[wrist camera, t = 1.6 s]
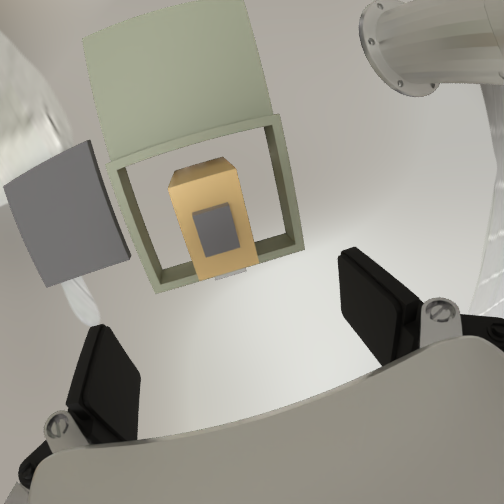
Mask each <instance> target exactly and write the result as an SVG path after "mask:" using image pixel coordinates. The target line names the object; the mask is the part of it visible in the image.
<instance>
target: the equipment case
mask: <svg viewBox="0 0 504 504" xmlns="http://www.w3.org/2000/svg"><path fill="white" fill-rule="evenodd" d="M82 40H83V47H84V53H85V58H86V64H87V69H88V74H89V78H90V83H91V88H92V93H93V97H94V101H95V105H96V110H97V114H98V118H99V121H100V125H101V129H102V133H103V136H104V140H105V143H106V147H107V150H108V153H109V157H110V160H111V162H109V163H107V164H106V169H107V172H108V175H109V178H110V181H111V184H112V187H113V190H114V193H115V196H116V198H117V201H118V204H119V207H120V209H121V212H122V215H123V217H124V220H125V223H126V225H127V228H128V231H129V233H130V236H131V238H132V241H133V243H134V246H135V248H136V251H137V253H138V255H139V258H140V260H141V262H142V265H143V267H144V269H145V272H146V273H147V276H148V278H149V281H150V283H151V285H152V287H153V289H154V292H155V294H158V293H161V292H165V291H168V290H172V289H175V288H179V287H182V286H186V285H189V284H192V283H196V282H199V279H198V276H197V273H196V270H195V268H194V265H193V262H192V261H190V262H187V263H183V264H180V265H177V266H173V267H170V268H167V269H162V267H161V265H160V262H159V260H158V257H157V255H156V252H155V250H154V247H153V245H152V242H151V239H150V237H149V234H148V231H147V229H146V226H145V223H144V221H143V218H142V215H141V213H140V210H139V207H138V204H137V201H136V198H135V195H134V192H133V190H132V186H131V183H130V180H129V177H128V174H127V171H126V168H125V167H126V166H128V165H131V164H134V163H137V162H140V161H142V160H145V159H148V158H151V157H154V156H157V155H160V154H163V153H166V152H169V151H172V150H175V149H179V148H182V147H185V146H189V145H192V144H195V143H199V142H202V141H206V140H210V139H213V138H217V137H221V136H225V135H229V134H233V133H237V132H241V131H246V130H250V129H254V128H259V127H264V130H265V134H266V139H267V143H268V148H269V152H270V157H271V161H272V166H273V171H274V176H275V181H276V185H277V190H278V195H279V200H280V205H281V210H282V215H283V220H284V225H285V231H286V233H284V234H281V235H278V236H274V237H271V238H267V239H264V240H261V241H257V242H254V243H255V247H256V251H257V256H258V260H259V263H258V264H260V263H263V262H266V261H269V260H273V259H276V258H279V257H282V256H286V255H289V254H292V253H295V252H299V251H302V250H305V247H304V241H303V235H302V228H301V222H300V216H299V210H298V205H297V200H296V194H295V188H294V183H293V177H292V172H291V167H290V162H289V157H288V152H287V147H286V142H285V137H284V133H283V128H282V123H281V119H280V114H274V115H273V111H272V106H271V102H270V98H269V93H268V89H267V85H266V81H265V77H264V73H263V69H262V65H261V61H260V57H259V53H258V50H257V46H256V42H255V39H254V35H253V31H252V28H251V24H250V20H249V17H248V13H247V10H246V6H245V3H244V0H198V1H193V2H188V3H184V4H179V5H175V6H171V7H167V8H164V9H160V10H157V11H153V12H150V13H147V14H144V15H140V16H137V17H134V18H131V19H129V20H126V21H123V22H121V23H118V24H115V25H113V26H110V27H108V28H105V29H103V30H100V31H98V32H96V33H93V34H91V35H89V36H87V37H85V38H83V39H82ZM255 265H256V264H255ZM252 266H253V265H252ZM248 267H250V266H248ZM245 271H246V267H245V268H242V269H238V270H235V271H232V272H228V273H225V274H222V275H218V276H215V279H216V280H218V279H222V278H225V277H228V276H232V275H235V274H238V273H242V272H245ZM212 278H213V277H212ZM208 279H209V278H208ZM205 280H206V279H205ZM201 281H202V280H201Z"/></svg>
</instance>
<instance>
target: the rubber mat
mask: <svg viewBox="0 0 504 504" xmlns="http://www.w3.org/2000/svg"><path fill="white" fill-rule="evenodd" d="M3 188H4V191H5V194H6V197H7V200H8V203H9V205H10V208H11V211H12V214H13V216H14V219H15V221H16V224H17V226H18V229H19V231H20V234H21V236H22V238H23V241H24V243H25V245H26V247H27V249H28V252H29V254H30V256H31V258H32V260H33V262H34V264H35V266H36V268H37V270H38V272H39V274H40V276H41V278H42V280H43V282H44V284H45V286H46V287H50V286H53V285H55V284H59V283H61V282H64V281H67V280H70V279H73V278H76V277H79V276H82V275H85V274H88V273H91V272H94V271H97V270H100V269H102V268H106V267H108V266H112V265H114V264H118V263H121V262H124V261H126V260H130V257H131V253H130V251H129V249H128V246H127V244H126V242H125V239H124V237H123V234H122V232H121V229H120V227H119V224H118V222H117V219H116V216H115V213H114V211H113V208H112V205H111V203H110V200H109V197H108V194H107V191H106V188H105V186H104V182H103V180H102V176H101V173H100V170H99V168H98V164H97V161H96V157H95V154H94V151H93V147H92V144H91V141H90V140H87V141H85V142H83V143H80V144H78V145H76V146H74V147H72V148H70V149H68V150H66V151H64V152H62V153H60V154H58V155H56V156H54V157H52V158H50V159H48V160H47V161H45V162H43V163H41V164H39V165H38V166H36V167H34V168H32V169H31V170H29V171H27V172H25V173H24V174H22V175H20V176H19V177H17V178H16V179H14V180H12V181H11V182H9V183H8V184H6V185H4V186H3Z"/></svg>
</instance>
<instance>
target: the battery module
mask: <svg viewBox="0 0 504 504" xmlns="http://www.w3.org/2000/svg"><path fill="white" fill-rule="evenodd" d="M168 191H169V195H170V197H171V201H172V204H173V207H174V210H175V213H176V216H177V219H178V222H179V225H180V228H181V231H182V234H183V237H184V240H185V243H186V245H187V248H188V251H189V254H190V257H191V259H192V262H193V265H194V268H195V270H196V273H197V276H198V279H199V281H201V280H205V279H208V278H212V277H215V276H218V275H222V274H225V273H228V272H232V271H235V270H238V269H242V268H245V267H248V266H252V265H255V264H258V263H259V260H258V256H257V251H256V247H255V243H254V239H253V235H252V231H251V227H250V223H249V219H248V215H247V211H246V207H245V203H244V199H243V195H242V191H241V186H240V182H239V178H238V174H237V170H236V168H235V167H234V166H233V165H232V164H230V163H229V162H228V161H227V160H226V159H225V158H224V157H220V158H217V159H213V160H209V161H206V162H202V163H199V164H195V165H192V166H189V167H185V168H182V169H179V170H176V171H175V172H174V174H173V176H172V179H171V181H170V184H169V186H168Z"/></svg>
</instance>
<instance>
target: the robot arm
mask: <svg viewBox="0 0 504 504" xmlns="http://www.w3.org/2000/svg"><path fill="white" fill-rule="evenodd" d="M359 36H360V41H361V45H362V48H363V50H364V53H365V56H366V57H367V59H368V61H369V63H370V65H371V66H372V68H373V69H374V71H375V72H376V73H377V75H378V76H379V77H380V78H381V79H382V80H383V81H384V82H385V83H386V84H387V85H389V86H390V87H391V88H392V89H394V90H395V91H397V92H399V93H401V94H404V95H407V96H412V97H423V96H427V95H429V94H431V93H433V92H434V91H435V90H436V89H437V88H438V86H439V84H440V83H474V84H491V85H503V86H504V0H413V1H410V2H408V3H404V2H401V1H398V0H377V1H375V2H373V3H371V4H369V5H368V6H367V7H366V8H365V9H364V10H363V12H362V15H361V17H360V22H359ZM338 269H339V283H340V298H341V311H342V314H343V316H344V318H345V319H346V320H347V322H348V323H349V324H350V325H351V327H352V328H353V329H354V331H355V332H356V333H357V334H358V336H359V337H360V338H361V339H362V341H363V342H364V343H365V345H366V346H367V347H368V348H369V350H370V351H371V352H372V354H373V355H374V356H375V358H376V359H377V360H378V361H379V363H380V364H381V365H382V367H381V368H378V369H376V370H374V371H372V372H370V373H367V374H366V375H363V376H361V377H359V378H357V379H354V380H352V381H350V382H347V383H345V384H343V385H341V386H338V387H336V388H333V389H331V390H328V391H326V392H323V393H321V394H318V395H316V396H313V397H310V398H308V399H305V400H302V401H299V402H296V403H294V404H291V405H288V406H285V407H282V408H279V409H276V410H273V411H270V412H266V413H263V414H260V415H256V416H253V417H249V418H246V419H242V420H239V421H235V422H231V423H227V424H223V425H219V426H214V427H210V428H205V429H201V430H196V431H191V432H186V433H181V434H175V435H169V436H163V437H156V438H149V439H142V440H137V432H138V410H139V394H140V382H141V377H140V373H139V371H138V370H137V368H136V367H135V365H134V364H133V363H132V361H131V360H130V358H129V357H128V355H127V354H126V352H125V351H124V349H123V348H122V346H121V345H120V343H119V341H118V340H117V338H116V337H115V335H114V334H113V332H112V330H111V329H110V327H108V326H107V327H106V326H105V325H104V324H100V325H97V326H93V327H90V329H89V331H88V334H87V337H86V340H85V342H84V346H83V348H82V351H81V354H80V357H79V360H78V363H77V367H76V370H75V373H74V376H73V379H72V383H71V387H70V390H69V394H68V398H67V401H66V405H67V407H68V411H57V412H55V413H53V414H52V415H51V416H50V417H49V418H48V419H47V421H46V423H45V426H44V435H45V438H46V440H45V441H44V442H43V443H42V444H41V445H40V446H39V447H38V448H37V449H36V450H35V451H34V452H33V453H31V455H29V456H28V457H27V458H26V459H25V460H24V461H23V462H22V464H21V465H20V467H19V472H18V474H19V475H18V476H19V480H20V484H19V483H18V482H16V484H15V486H14V487H13V489H12V491H11V492H10V494H9V496H8V498H7V500H6V501H5V503H4V504H504V319H503V318H498V317H487V316H475V315H465V314H464V315H463V314H460V311H459V308H458V306H457V305H456V304H455V303H454V302H452V301H451V300H449V299H446V298H440V297H439V298H432V299H429V300H428V301H426V302H425V303H423V302H422V301H421V300H420V299H419V298H418V297H417V296H416V295H415V294H414V293H413V292H411V291H410V290H409V289H408V288H407V287H405V286H404V285H403V284H402V283H401V282H399V281H398V280H397V279H395V278H394V277H393V276H392V275H391V274H390V273H388V272H387V271H386V270H385V269H383V268H382V267H381V266H379V265H378V264H377V263H376V262H374V261H373V260H372V259H371V258H369V257H368V256H367V255H365V254H364V253H363V252H362V251H360V250H359V249H358V248H356V247H352V248H349V249H346V250H343V251H342V252H341V255H340V256H338Z"/></svg>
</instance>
